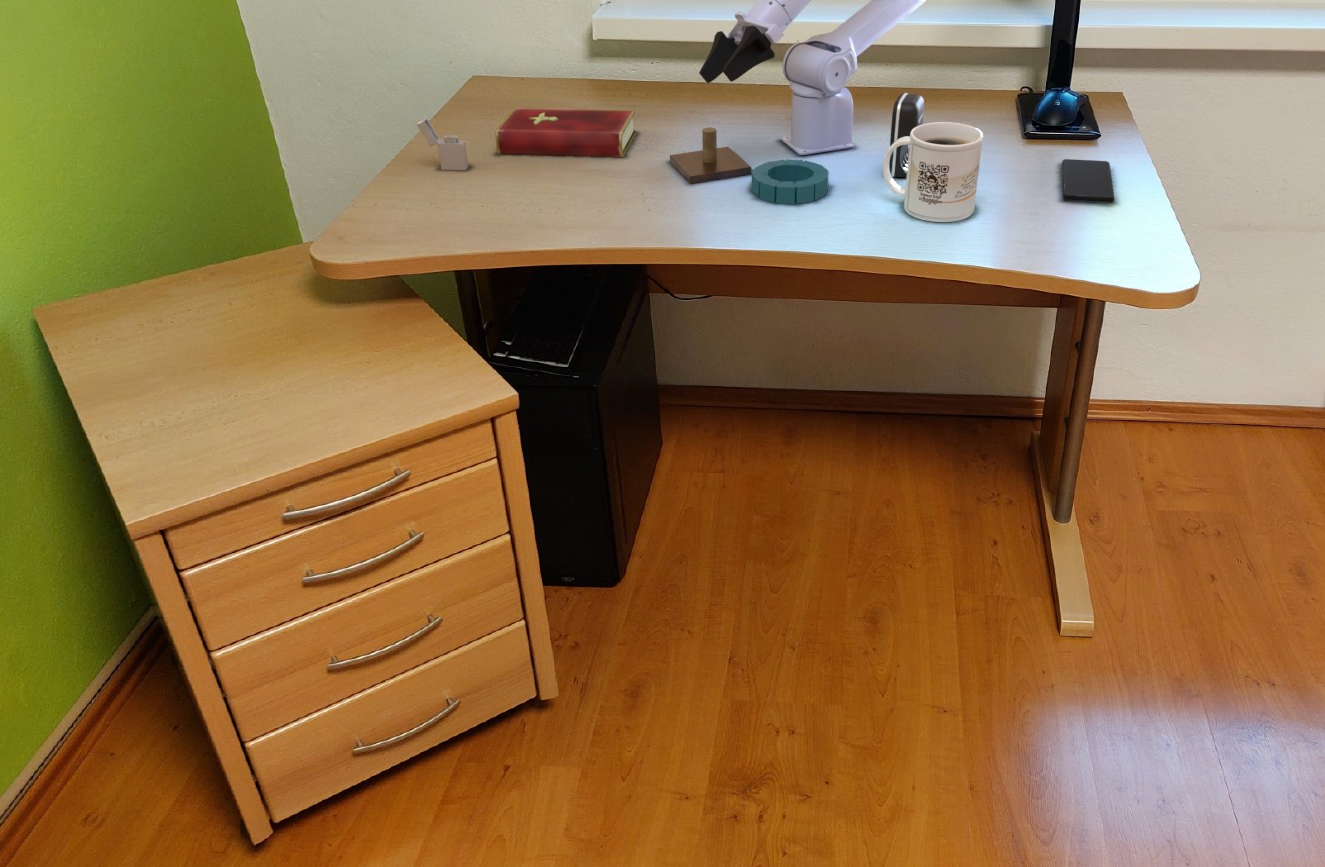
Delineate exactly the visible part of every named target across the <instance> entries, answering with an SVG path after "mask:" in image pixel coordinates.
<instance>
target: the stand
mask: <svg viewBox="0 0 1325 867" xmlns="http://www.w3.org/2000/svg"><path fill="white" fill-rule="evenodd" d="M717 131H718V130H717V128H715V127H704V128H702V130H701V133H702V134H701V137H702V138H701V139H702V141H701V142H702V150H695V151H694V150H693V151H688V152H682V153H675V154H670V155H669V163H670V164H671V165H672V166H673V167H674V169H676V170H677V172H678V173H680V175H681V176H682V177H683V178H684V179H685V180H686V181H687V182H688V183H689V184H690V185H693V184H697V183H703V182H710V181H717V180H723V179H729V178H735V177H741V176H742V177H743V176H748V175H752V166H751V165H749V163H747V162H746V161H745V160H744V159H743V158H742V157H740V155H738V153H736V152H735V150H733V149H732V148H731V147H730V146H722V147H718V144H717V143H718V141H717V140H718V138H717V134H718V133H717Z"/></svg>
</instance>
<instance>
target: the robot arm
mask: <svg viewBox="0 0 1325 867" xmlns="http://www.w3.org/2000/svg"><path fill="white" fill-rule="evenodd" d="M926 1H927V0H870V1H869V2H867V3H866V4H865V5H864V6H863V7H861V8H860V9H859V10H857V11H856V12H855V13H854V14H852V15H851V16H850V17H848V18H847V19H846V20H845V21H844V22H842V23H841V24H840V25H839V26H837V27H835V29H834V30H832V31H830V32H827V33H821V34H815V35H812V36H810V37H809V38H808V39H806V40H804V41H799V42H796V43H794V44H792V45H791V46H790V47H789V48H788V49H787V50H786V53H785V54H784V57H783V60H782V73H783V76H784V78H785V79H786V81H788V82H789V89H791V115H790V116H791V120H790V122H791V123H790V135H789V136H783V137H781V141H782V142H783V143H784V144H785V145H786V146H788V147H789V148H790V149H792V150H793V151H794V152H795V153H797V154H798V155H799V156H807V155H813V154H820V153H825V152H831V151H833V152H834V151H839V150H845V149H851V148H854V143H852V141H853V123H854V101H853V100H854V99H853V96H852V94H851V92H850V90H849V89H848V88H847V87H845V86H846V84H847V83H848V81H849V79H850V78H851V77H852V76H853V75H854V74H855V73H856V72H857V71H858V58H857V57H858V56H860V55H861V54H862V53H863V52H865V51H866V50H867V49H868V48H870V47H871V46H872V45H874V43H876V42H877V41H878V40H880V39H881V38H882V37H883V36H885V34H887V33H888V32H889V31H891V30H892V29H893V28H895V27H896V26H897V25H899V24H900V22H902V21H903V20H905V18H907V17H908V16H910V14H912V13H913V12H914V11H915V10H917V9H918V8H919V7H920V6H922V5H923V4H924V3H925V2H926ZM810 2H812V0H758V1H757V2H756V3H754V5H753V6H752V7H751V9H749V10H748V12H747V13H745V12H744V11H740V10H739V11H737V12H735V14H734V18H735V19H736V20H737V22H736V24H735V25H734V26H733V28H732V29H731V30H729V31H727V33H724V31H723V30H720V31H719V30H718V31H717V32H716V33H715V35H714V37H713V41H712V42H713V43H712V46H711V49H710V51H709V54H708V56H707V57H706V59H705V61H704V62H703V64H702V66H701V67H700V70H699V72H698V74H699V75H700V77H702V79H703V80H704V81H705V82H706V83H707V84H710V83H712V82H713V81H715V80H716V79H717V78H718V77H719V76H721V75H722V74H724V75H725V77H726V78H727V79H728V80H729V81H730V82H734V81H736V80H738V79H739V78H741V77H743V76H744V75H745V74H746V73H747V72H749V71H750V70H751V69H753V68H755V67H756V66H758V65H760V64H762V63H764V62H766V61H769V60H771V59H772V60H773V59H774V58H775V57H776V53H775V52H774V50H773V49H772V46H773V45H776V44H777V43H778V42H779V41H780V40H781V39H782V37H784V35H785V34H784V31H785V30H786V29H787V28H788V27H789V26H790V24H792V23H793V21H794V20H795V19H796V18H797V17H798V16H799V15H800V13H802V11H803V10H804V9H805V8H806V7H807V6H808V4H809V3H810Z"/></svg>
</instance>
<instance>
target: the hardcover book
mask: <svg viewBox="0 0 1325 867" xmlns="http://www.w3.org/2000/svg"><path fill="white" fill-rule="evenodd" d="M635 113H636V110H635V109H592V108H590V109H589V108H588V109H587V108H584V109H583V108H536V107H535V108H531V107H514V108H513V109H512V110H511V112H509V114H508V115H507V117H505V118H504V120H503V121H502V122H501V123H500V124H499V126H498V127H497V128H496V129H495V131H494V132H495V135H494V136H495V146H496V150H497V155H517V156H518V155H520V156H521V155H522V156H525V155H526V156H561V157H563V156H564V157H565V156H566V157H595V158H597V157H599V158H601V157H603V158H606V157H607V158H624V156H625V154H626V153H627V151H628V149H629V147H630V146H631V144H632V141H633V140H634V138H635V136H636V134H637V130H634V121H633V118H634V116H635Z"/></svg>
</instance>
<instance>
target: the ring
mask: <svg viewBox="0 0 1325 867" xmlns="http://www.w3.org/2000/svg"><path fill="white" fill-rule="evenodd" d="M829 176H830V172H829V170H828V169H827V168H826V167H825V166H824V165H822V164H820V163H816V162H813V161H810V160H804V159H779V160H778V159H776V160H771V161H767V162H763V163H761V164H759V165H758V166H755V167H754V168H753V170H752V172H751V193H752V194H753V195H755V196H756V198H758V199H759V200H763V201H766V202H769V203H773V204H775V203H776V204H781V205H785V204H786V205H795V204H796V205H801V204H805V203H812V202H816V201H818V200H819V199H821V198H823V197H825V196H826V195H827V193H828V190H829Z"/></svg>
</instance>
